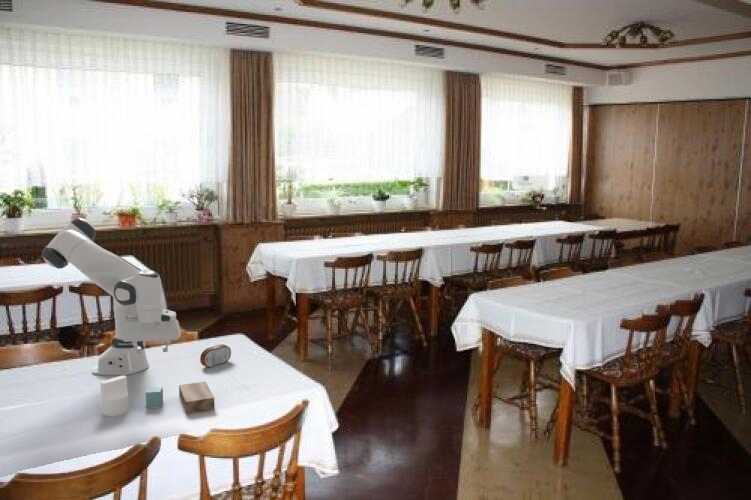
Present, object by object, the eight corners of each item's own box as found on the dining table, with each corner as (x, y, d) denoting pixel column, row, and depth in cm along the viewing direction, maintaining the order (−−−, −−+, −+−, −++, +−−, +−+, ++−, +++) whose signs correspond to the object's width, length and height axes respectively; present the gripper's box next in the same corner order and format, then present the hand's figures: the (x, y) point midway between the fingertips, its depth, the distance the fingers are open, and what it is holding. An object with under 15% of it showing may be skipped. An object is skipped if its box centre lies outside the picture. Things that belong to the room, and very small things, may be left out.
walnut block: (186, 415, 225) (185, 401, 225) (179, 397, 242) (178, 385, 241) (214, 410, 230) (214, 397, 229) (206, 393, 246) (205, 381, 245)
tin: (228, 360, 285) (227, 342, 284) (232, 361, 283) (232, 343, 282) (199, 368, 273) (199, 349, 272) (204, 370, 271) (203, 351, 270)
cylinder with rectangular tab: (120, 404, 234) (118, 373, 232) (133, 410, 228) (131, 378, 226) (97, 411, 227) (95, 379, 225) (109, 418, 221) (107, 385, 220)
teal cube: (146, 408, 231) (145, 392, 230) (149, 402, 235) (148, 387, 235) (160, 407, 231) (159, 391, 230) (163, 402, 236) (162, 386, 235)
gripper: (118, 318, 224) (120, 355, 226) (177, 316, 226) (179, 353, 229) (122, 313, 230) (124, 350, 232) (180, 312, 233) (181, 348, 235)
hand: (152, 352), depth 230 cm, fingers open, 8 cm apart
